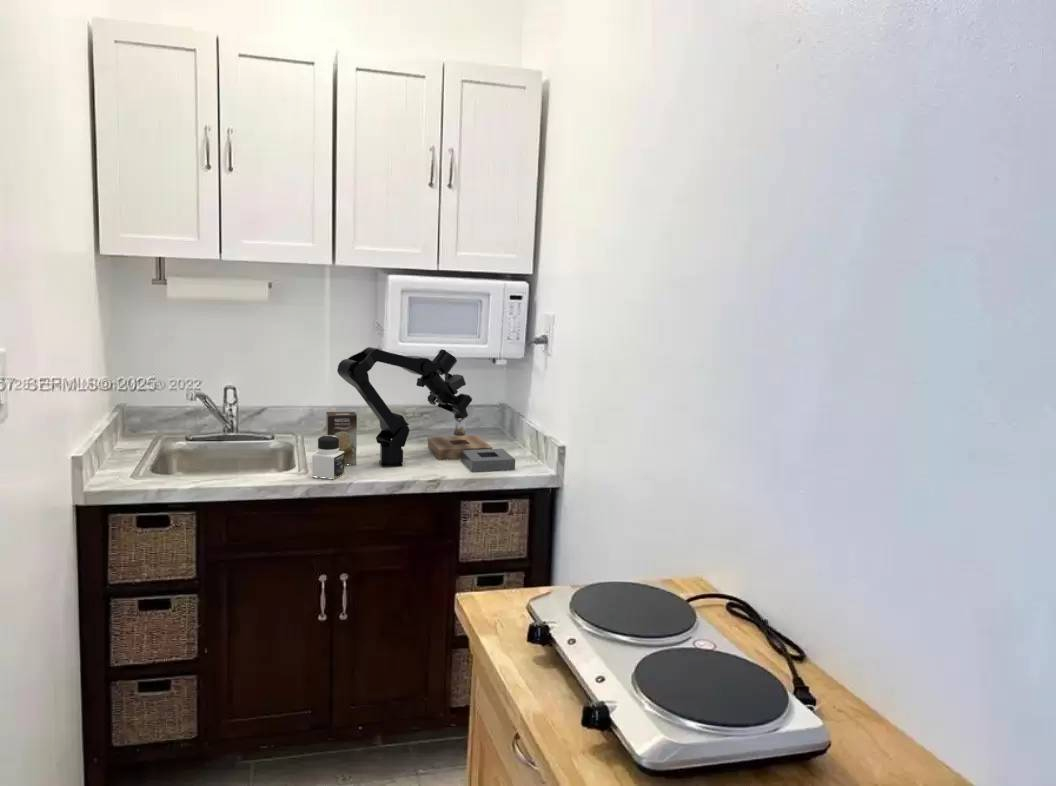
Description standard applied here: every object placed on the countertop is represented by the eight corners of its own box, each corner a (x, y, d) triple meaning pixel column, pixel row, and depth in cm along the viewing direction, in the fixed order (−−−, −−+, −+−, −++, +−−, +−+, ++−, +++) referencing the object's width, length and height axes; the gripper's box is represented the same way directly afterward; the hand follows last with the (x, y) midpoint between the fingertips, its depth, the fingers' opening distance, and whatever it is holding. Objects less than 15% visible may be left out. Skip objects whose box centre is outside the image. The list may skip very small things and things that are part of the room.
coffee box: (326, 466, 248) (326, 415, 245) (325, 461, 253) (325, 411, 251) (356, 465, 250) (357, 415, 248) (354, 459, 256) (354, 411, 254)
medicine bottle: (334, 480, 233) (334, 440, 231) (312, 478, 235) (311, 438, 232) (344, 473, 240) (344, 435, 238) (322, 471, 241) (322, 433, 239)
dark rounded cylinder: (459, 436, 267) (461, 398, 265) (451, 434, 270) (452, 396, 268) (467, 434, 271) (468, 397, 268) (458, 432, 273) (459, 395, 271)
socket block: (472, 472, 247) (472, 461, 247) (461, 460, 260) (461, 450, 260) (514, 469, 252) (515, 459, 251) (502, 458, 265) (502, 448, 264)
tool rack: (438, 460, 260) (439, 449, 259) (427, 447, 277) (427, 437, 276) (491, 457, 266) (492, 447, 265) (477, 445, 282) (478, 435, 282)
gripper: (468, 371, 257) (494, 401, 266) (435, 363, 271) (461, 393, 280) (447, 397, 253) (474, 427, 262) (415, 388, 267) (442, 417, 276)
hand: (463, 415), depth 270 cm, fingers closed on dark rounded cylinder, 4 cm apart
